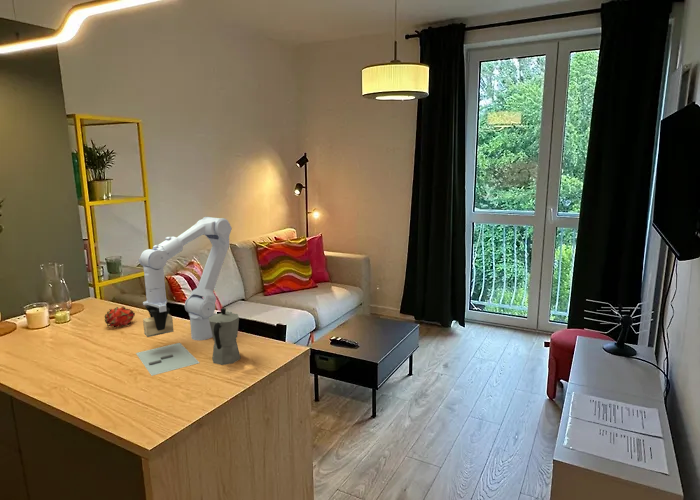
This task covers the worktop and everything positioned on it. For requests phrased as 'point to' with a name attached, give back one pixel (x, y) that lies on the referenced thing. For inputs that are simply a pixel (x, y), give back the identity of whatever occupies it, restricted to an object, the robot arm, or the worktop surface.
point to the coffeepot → (225, 337)
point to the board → (177, 361)
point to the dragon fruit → (119, 317)
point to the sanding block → (151, 326)
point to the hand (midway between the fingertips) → (159, 327)
